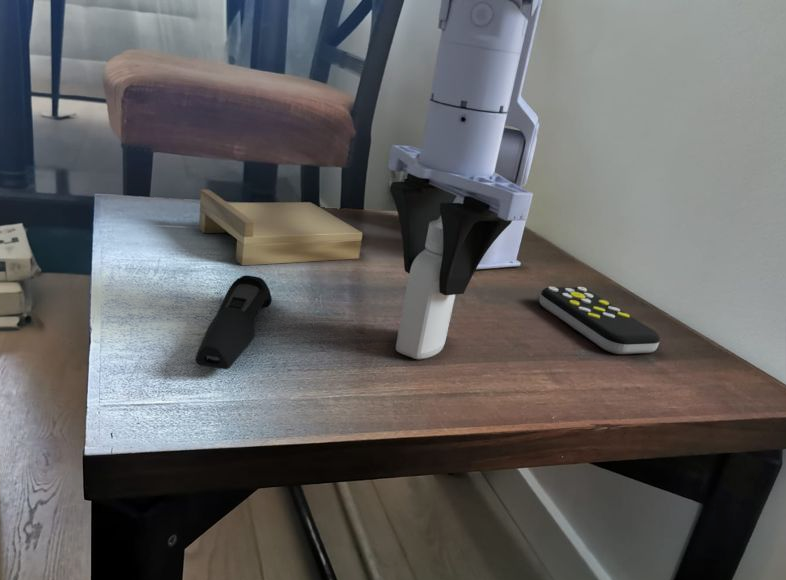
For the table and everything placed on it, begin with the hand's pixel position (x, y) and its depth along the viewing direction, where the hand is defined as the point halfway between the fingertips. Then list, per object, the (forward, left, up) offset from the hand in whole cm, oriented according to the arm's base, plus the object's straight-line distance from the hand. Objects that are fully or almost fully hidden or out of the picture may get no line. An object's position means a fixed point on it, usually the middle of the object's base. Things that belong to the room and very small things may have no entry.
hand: (433, 281), depth 56 cm
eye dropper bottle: (0, 0, -6) cm, 6 cm away
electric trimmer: (+14, -6, -6) cm, 16 cm away
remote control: (-21, +1, -6) cm, 22 cm away
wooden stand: (0, -27, -6) cm, 28 cm away
